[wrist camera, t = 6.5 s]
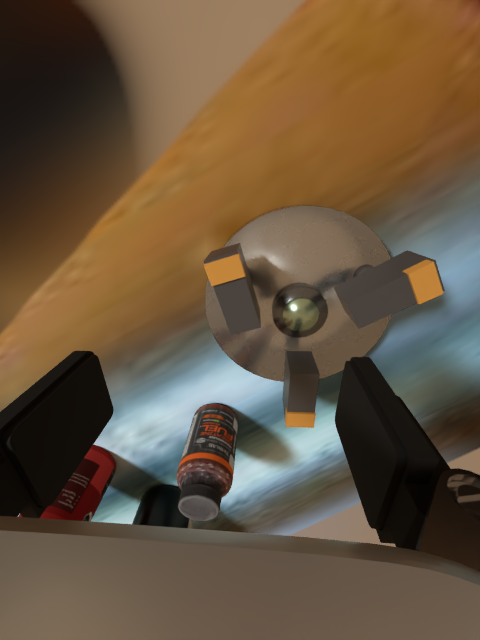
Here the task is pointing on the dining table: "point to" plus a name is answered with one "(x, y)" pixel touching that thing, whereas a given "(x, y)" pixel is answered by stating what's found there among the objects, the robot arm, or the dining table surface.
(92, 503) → the canned food
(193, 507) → the supplement bottle
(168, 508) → the ink bottle
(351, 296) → the grey chuck jaw
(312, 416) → the orange-tipped grey bar
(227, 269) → the grey and orange block
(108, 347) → the dining table surface
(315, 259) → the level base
